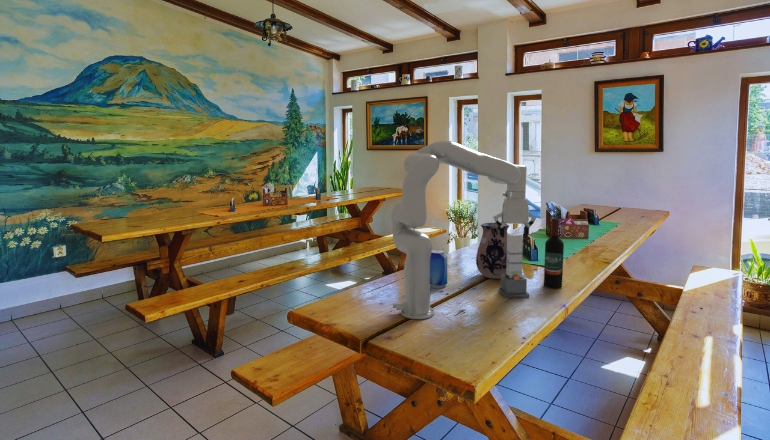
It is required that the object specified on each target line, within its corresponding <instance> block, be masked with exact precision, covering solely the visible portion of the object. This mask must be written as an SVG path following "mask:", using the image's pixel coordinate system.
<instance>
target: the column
mask: <svg viewBox="0 0 770 440" xmlns="http://www.w3.org/2000/svg"><path fill="white" fill-rule="evenodd" d="M523 237H524V234H521V232H513V233H512V232H511V233H510V232H509V233H508V232H507V259H506V261H507V266H506V275H507V276H508V277H509V278H510V279H513V276H515V275H519V276H520V278H522V275H523V254H524V252H523V250H524V249H523V245H524V243H523V242H524V238H523Z"/></svg>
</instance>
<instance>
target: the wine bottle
mask: <svg viewBox="0 0 770 440" xmlns="http://www.w3.org/2000/svg"><path fill="white" fill-rule="evenodd" d="M559 225H560V219H559V218H558V217H557V218H556V217H555V218H553V217H552V219H551V234H550V235H551V236H550V237H549V238H548V239H547V240H546V241H545V245H544V247H545V248H544V268H543V269H544V271H543V272H544V273H543V286H544V288H547V289H553V290H554V289H555V290H557V289H561V287H562V288H563V272H564V271H563V270H564V252H565V251H564V249H565V246H564V245H565V243H564V241H563V240H562V239H561V238H560V237H559Z"/></svg>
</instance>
